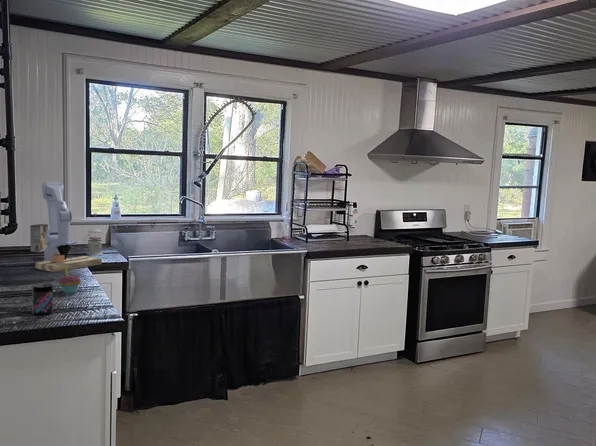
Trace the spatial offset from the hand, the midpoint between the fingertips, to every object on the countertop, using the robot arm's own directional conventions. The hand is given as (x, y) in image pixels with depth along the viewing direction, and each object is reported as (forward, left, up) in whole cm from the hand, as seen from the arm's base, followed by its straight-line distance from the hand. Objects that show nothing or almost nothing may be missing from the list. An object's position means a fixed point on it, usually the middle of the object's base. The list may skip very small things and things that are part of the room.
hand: (63, 259), depth 271 cm
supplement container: (+67, -60, -4) cm, 90 cm away
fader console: (0, +4, -4) cm, 5 cm away
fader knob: (0, -4, -1) cm, 4 cm away
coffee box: (-53, +24, -4) cm, 58 cm away
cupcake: (+47, -33, -4) cm, 58 cm away
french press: (-23, +39, -4) cm, 45 cm away
